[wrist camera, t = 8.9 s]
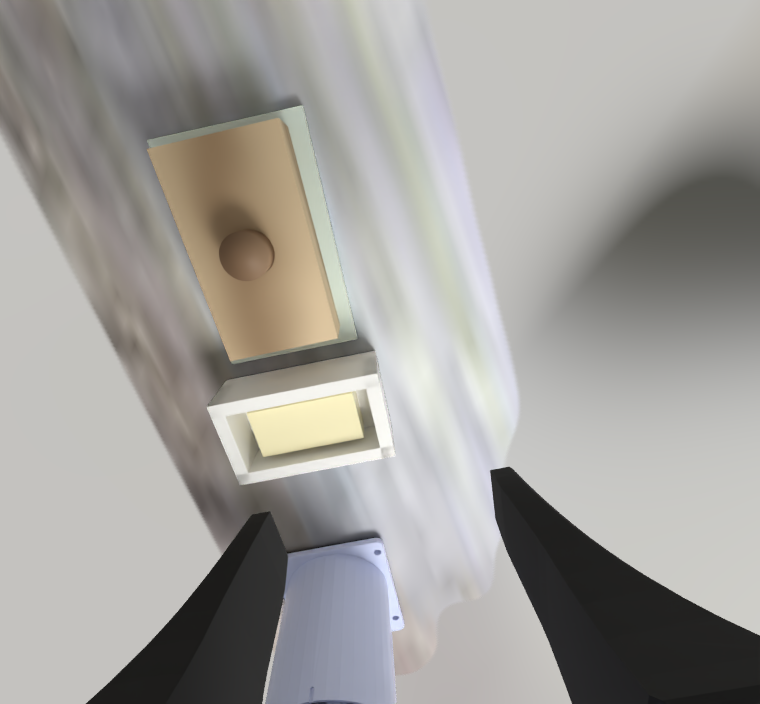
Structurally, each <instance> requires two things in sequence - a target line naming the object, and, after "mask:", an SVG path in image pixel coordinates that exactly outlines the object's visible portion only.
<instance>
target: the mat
mask: <svg viewBox="0 0 760 704" xmlns="http://www.w3.org/2000/svg"><path fill="white" fill-rule="evenodd" d="M275 118H279V119H281V120H282V121H283V122H284V123H285V124H286V125H287V126H288V129H289V133H290V136H291V140H292V144H293V148H294V152H295V155H296V159H297V163H298V167H299V171H300V174H301V178H302V182H303V186H304V190H305V194H306V197H307V201H308V205H309V209H310V213H311V216H312V220H313V224H314V228H315V232H316V235H317V239H318V243H319V247H320V251H321V254H322V258H323V262H324V266H325V270H326V273H327V277H328V281H329V285H330V289H331V292H332V296H333V300H334V304H335V308H336V311H337V315H338V319H339V323H340V330H339V335H338V339H333V340H328V341H323V342H319V343H314V344H309V345H305V346H300V347H295V348H291V349H286V350H281V351H277V352H272V353H267V354H262V355H258V356H253V357H248V358H244V359H239V360H234V361H231V363H232V364H237V363H242V362H247V361H252V360H257V359H262V358H267V357H272V356H277V355H282V354H287V353H292V352H297V351H302V350H307V349H311V348H316V347H321V346H326V345H331V344H336V343H341V342H346V341H351V340H356V339H357V333H356V329H355V324H354V320H353V316H352V312H351V307H350V303H349V299H348V295H347V290H346V286H345V282H344V278H343V273H342V269H341V265H340V261H339V256H338V252H337V248H336V244H335V239H334V235H333V231H332V226H331V222H330V218H329V214H328V209H327V205H326V201H325V197H324V192H323V188H322V184H321V180H320V175H319V171H318V167H317V163H316V158H315V154H314V150H313V145H312V141H311V137H310V133H309V128H308V124H307V120H306V116H305V111H304V107H303V106H302V105H301V106H297V107H292V108H288V109H283V110H279V111H274V112H270V113H265V114H261V115H256V116H252V117H247V118H243V119H238V120H234V121H230V122H225V123H221V124H216V125H212V126H207V127H203V128H198V129H194V130H189V131H185V132H180V133H176V134H171V135H167V136H162V137H158V138H154V139H149V140H147V142H148V145H149V147H150V148H153V147H157V146H161V145H166V144H170V143H174V142H178V141H182V140H187V139H191V138H195V137H199V136H203V135H208V134H212V133H216V132H220V131H224V130H229V129H233V128H237V127H241V126H245V125H250V124H254V123H258V122H262V121H267V120H271V119H275Z"/></svg>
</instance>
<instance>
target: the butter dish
mask: <svg viewBox="0 0 760 704" xmlns="http://www.w3.org/2000/svg"><path fill="white" fill-rule="evenodd" d="M207 409H208V412H209V414H210V416H211V419H212V421H213V423H214V426H215V428H216V430H217V433H218V435H219V437H220V440H221V442H222V444H223V447H224V449H225V451H226V454H227V456H228V459H229V461H230V463H231V466H232V468H233V470H234V473H235V475H236V477H237V480H238V482H239V484H240V485H246V484H251V483H256V482H261V481H267V480H272V479H277V478H283V477H288V476H293V475H298V474H304V473H309V472H314V471H319V470H325V469H330V468H335V467H341V466H346V465H351V464H356V463H362V462H367V461H372V460H378V459H383V458H388V457H393V456H395V448H394V440H393V432H392V425H391V420H390V415H389V411H388V406H387V402H386V397H385V393H384V388H383V383H382V379H381V374H380V370H379V365H378V361H377V356H376V352H375V351H370V352H365V353H360V354H355V355H350V356H345V357H340V358H335V359H330V360H325V361H320V362H315V363H310V364H305V365H300V366H295V367H290V368H285V369H280V370H275V371H270V372H265V373H260V374H255V375H250V376H245V377H240V378H235V379H230V380H226V381H225V383H224V384H223V386H222V387H221V388H220V390H219V391H218V392H217V394H216V395H215V396H214V398H213V399H212V400H211V402H210V403H209V404H208V406H207Z"/></svg>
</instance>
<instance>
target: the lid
mask: <svg viewBox="0 0 760 704" xmlns="http://www.w3.org/2000/svg"><path fill="white" fill-rule="evenodd" d="M147 151H148V154H149V156H150V159H151V161H152V164H153V166H154V169H155V171H156V174H157V177H158V179H159V182H160V184H161V187H162V189H163V192H164V194H165V197H166V199H167V202H168V204H169V207H170V210H171V212H172V215H173V217H174V220H175V222H176V225H177V227H178V230H179V232H180V235H181V237H182V240H183V243H184V245H185V248H186V250H187V253H188V255H189V258H190V260H191V263H192V265H193V268H194V270H195V273H196V276H197V278H198V281H199V283H200V286H201V288H202V291H203V293H204V296H205V298H206V301H207V303H208V306H209V309H210V311H211V314H212V316H213V319H214V321H215V324H216V326H217V329H218V331H219V334H220V337H221V339H222V342H223V344H224V347H225V349H226V352H227V354H228V357H229V359H230V361H234V360H239V359H244V358H248V357H253V356H258V355H262V354H267V353H272V352H277V351H281V350H286V349H291V348H295V347H300V346H305V345H309V344H314V343H319V342H323V341H328V340H333V339H338V335H339V330H340V323H339V319H338V315H337V311H336V308H335V304H334V300H333V296H332V292H331V289H330V285H329V281H328V277H327V273H326V270H325V266H324V262H323V258H322V254H321V251H320V247H319V243H318V239H317V235H316V232H315V228H314V224H313V220H312V216H311V213H310V209H309V205H308V201H307V197H306V194H305V190H304V186H303V182H302V178H301V174H300V171H299V167H298V163H297V159H296V155H295V152H294V148H293V144H292V140H291V136H290V133H289V129H288V126H287V125H286V124H285V123H284V122H283V121H282V120H281V119H279V118H275V119H271V120H267V121H262V122H258V123H254V124H250V125H245V126H241V127H237V128H233V129H229V130H224V131H220V132H216V133H212V134H208V135H203V136H199V137H195V138H191V139H187V140H182V141H178V142H174V143H170V144H166V145H161V146H157V147H153V148H149V149H147Z"/></svg>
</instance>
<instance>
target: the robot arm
mask: <svg viewBox="0 0 760 704" xmlns="http://www.w3.org/2000/svg"><path fill="white" fill-rule="evenodd" d="M490 473H491V482H492V491H493V500H494V509H495V519H496V521H497V524H498V527H499V530H500V533H501V536H502V539H503V542H504V544H505V547H506V550H507V552H508V554H509V557H510V558H511V561H512V563H513V565H514V567H515V569H516V571H517V574H518V576H519V578H520V580H521V582H522V584H523V586H524V588H525V590H526V593H527V595H528V597H529V599H530V601H531V603H532V605H533V607H534V610H535V612H536V614H537V616H538V618H539V620H540V622H541V624H542V627H543V629H544V631H545V634H546V636H547V638H548V640H549V643H550V645H551V648H552V651H553V653H554V656H555V659H556V661H557V664H558V667H559V669H560V672H561V675H562V677H563V680H564V683H565V685H566V688H567V691H568V693H569V696H570V699H571V701H572V704H760V636H759V635H757V634H755V633H753V632H751V631H749V630H746V629H744V628H742V627H740V626H738V625H736V624H734V623H731V622H730V621H727V620H725V619H723V618H721V617H719V616H717V615H715V614H713V613H711V612H709V611H708V610H706V609H704V608H702V607H700V606H698V605H696V604H694V603H692V602H690V601H689V600H687V599H685V598H683V597H681V596H680V595H678V594H676V593H674V592H673V591H671V590H669V589H668V588H666V587H664V586H662V585H661V584H659V583H657V582H656V581H654V580H652V579H650V578H649V577H647V576H645V575H643V574H642V573H641V572H639V571H637V570H636V569H634V568H633V567H631V566H630V565H628V564H627V563H625V562H623V561H622V560H620V559H619V558H618V557H616V556H615V555H613V554H612V553H610V552H609V551H608V550H606V549H605V548H603V547H602V546H601V545H599V544H598V543H596V542H595V541H594V540H592V539H591V538H590V537H588V536H587V535H586V534H585V533H583V532H582V531H581V530H580V529H578V528H577V527H576V526H574V525H573V524H572V523H571V522H570V521H568V520H567V519H566V518H565V517H564V516H562V515H561V514H560V513H559V512H558V511H557V510H555V509H554V508H553V507H552V506H551V505H549V503H547V502H546V501H545V500H544V499H543V498H542V497H541V496H540V495H539V494H537V493H536V492H535V491H534V490H533V489H532V488H531V487H530V486H529V485H528V484H527V483H526V482H525V481H524V480H523V479H522V478H521V477H520V476H519V475H518V474H517V473H516V472H515V471H514V470H513V469H512V468H510V467H506V468H500V469H495V470H490ZM283 597H284V600H285V604H284V609H283V614H282V619H281V624H280V630H279V635H278V640H277V645H276V651H275V656H274V661H273V666H272V672H271V677H270V682H269V687H268V693H267V697H266V703H265V704H397V701H396V686H395V670H394V655H393V640H392V631H397V630H401V629H403V628H404V619H403V615H402V612H401V608H400V604H399V600H398V597H397V593H396V589H395V585H394V581H393V578H392V574H391V570H390V566H389V563H388V559H387V555H386V551H385V548H384V544H383V541H382V540H381V539H380V538H371V539H366V540H360V541H355V542H349V543H344V544H338V545H333V546H327V547H322V548H316V549H311V550H305V551H300V552H294V553H289V554H287V552H286V550H285V547H284V545H283V542H282V540H281V537H280V535H279V532H278V530H277V527H276V525H275V522H274V520H273V517H272V515H271V512H264V513H259V514H253V515H251V517H250V518H249V519H248V521H247V522H246V523H245V525H244V526H243V528H242V529H241V530H240V532H239V533H238V534H237V536H236V537H235V539H234V540H233V541H232V543H231V544H230V545H229V547H228V548H227V550H226V551H225V552H224V554H223V555H222V556H221V558H220V559H219V560H218V562H217V563H216V564H215V566H214V567H213V568H212V570H211V571H210V573H209V574H208V575H207V576H206V578H205V579H204V580H203V581H202V582H201V584H200V585H199V586H198V588H197V589H196V590H195V591H194V592H193V594H192V595H191V596H190V597H189V599H188V600H187V601H186V602H185V604H184V605H183V606H182V607H181V608H180V609H179V611H178V612H177V613H176V614H175V615H174V616H173V618H172V619H171V620H170V621H169V622H168V623H167V624H166V625H165V626H164V628H163V629H162V630H161V631H160V632H159V633H158V634H157V635H156V636H155V637H154V638H153V639H152V641H151V642H150V643H149V644H148V645H147V646H146V647H145V648H144V649H143V650H142V651H141V652H140V653H139V654H138V655H137V656H136V657H135V658H134V659H133V660H132V661H131V662H130V663H129V664H128V665H127V666H126V667H125V668H123V669H122V670H121V671H120V673H118V674H117V675H116V676H115V677H114V678H113V679H112V680H111V681H110V682H109V683H108V684H107V685H106V686H105V687H104V688H103V689H102V690H100V691H99V692H98V693H97V694H96V695H95V696H94V697H93V698H92V699H91V700H89V701H88V702H87V703H86V704H262V701H263V693H264V687H265V681H266V676H267V670H268V666H269V662H270V657H271V653H272V648H273V643H274V639H275V634H276V630H277V625H278V621H279V616H280V611H281V607H282V602H283Z"/></svg>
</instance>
